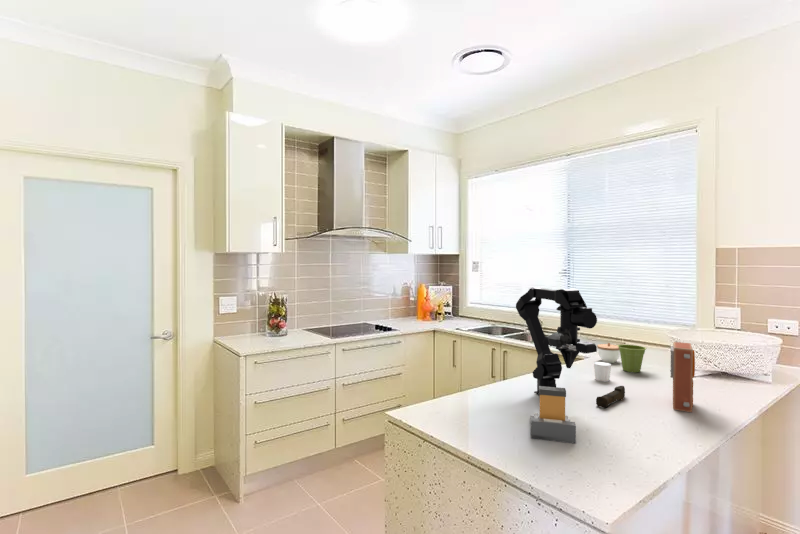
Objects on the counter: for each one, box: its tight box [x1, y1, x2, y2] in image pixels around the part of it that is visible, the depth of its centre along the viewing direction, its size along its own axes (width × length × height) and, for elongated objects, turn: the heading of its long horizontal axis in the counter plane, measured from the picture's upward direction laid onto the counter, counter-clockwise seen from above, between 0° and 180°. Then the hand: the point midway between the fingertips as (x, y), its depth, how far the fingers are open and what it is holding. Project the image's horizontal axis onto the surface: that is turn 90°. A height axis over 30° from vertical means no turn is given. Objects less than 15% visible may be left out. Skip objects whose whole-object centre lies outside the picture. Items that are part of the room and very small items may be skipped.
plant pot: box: [617, 344, 647, 373], centre depth 198 cm, size 12×12×11 cm
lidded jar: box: [596, 342, 621, 364], centre depth 217 cm, size 11×11×9 cm
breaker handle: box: [538, 386, 567, 421], centre depth 126 cm, size 3×7×12 cm, turn 74°
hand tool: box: [595, 385, 626, 409], centre depth 155 cm, size 19×4×5 cm, turn 128°
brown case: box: [669, 341, 696, 413], centre depth 150 cm, size 21×7×15 cm
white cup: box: [593, 361, 612, 382], centre depth 184 cm, size 7×7×7 cm
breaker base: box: [530, 412, 577, 444], centre depth 129 cm, size 16×12×5 cm
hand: (568, 368), depth 152 cm, fingers closed
